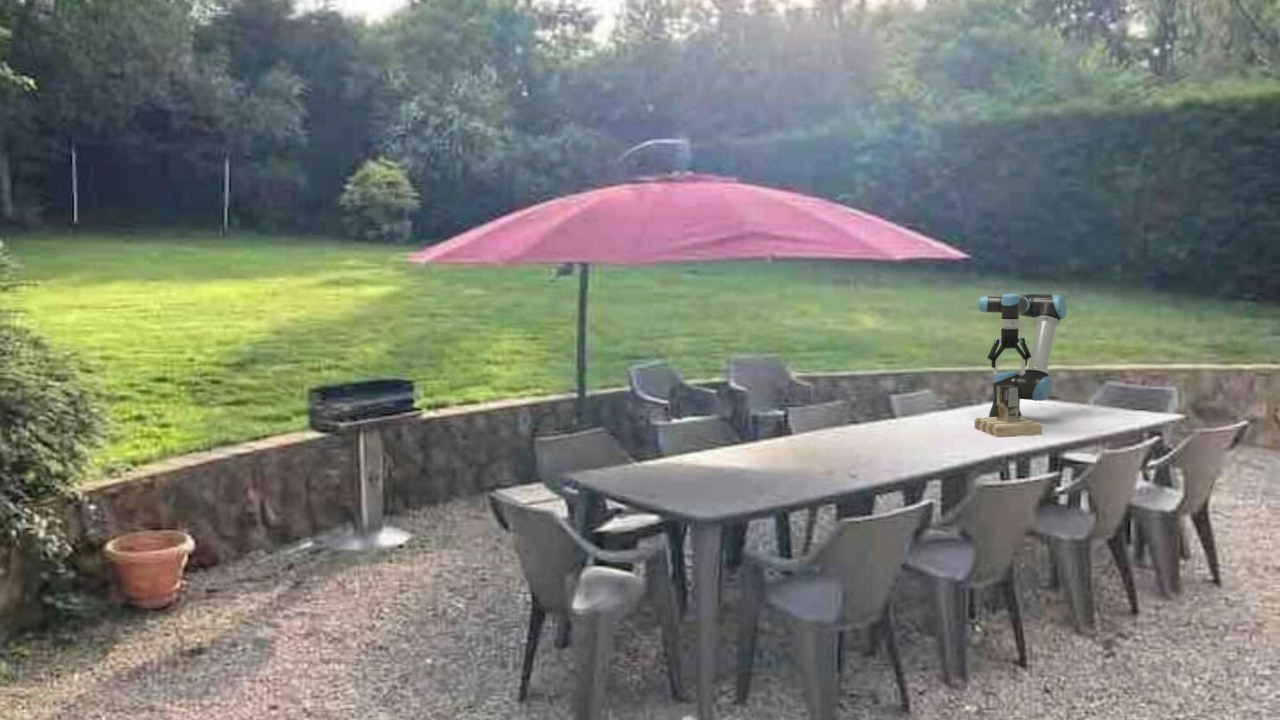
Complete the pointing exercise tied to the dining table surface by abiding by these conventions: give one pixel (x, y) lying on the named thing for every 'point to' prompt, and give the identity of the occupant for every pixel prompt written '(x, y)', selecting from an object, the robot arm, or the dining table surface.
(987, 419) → the stand
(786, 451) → the dining table surface
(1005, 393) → the coffee box
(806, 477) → the dining table surface
